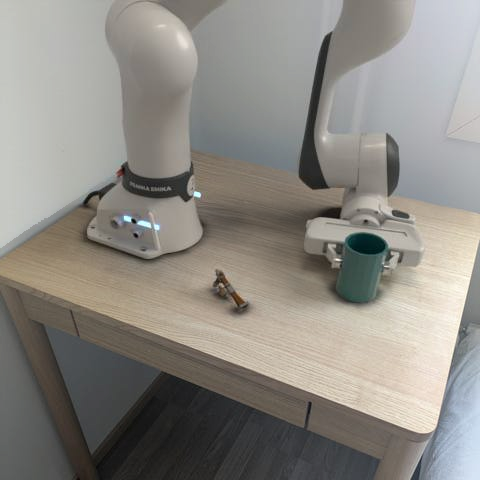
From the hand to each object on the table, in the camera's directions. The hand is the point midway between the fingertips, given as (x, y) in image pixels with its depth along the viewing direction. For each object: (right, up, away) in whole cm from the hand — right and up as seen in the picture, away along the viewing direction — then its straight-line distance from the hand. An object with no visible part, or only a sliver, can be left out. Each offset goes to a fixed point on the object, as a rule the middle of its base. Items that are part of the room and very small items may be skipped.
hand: (361, 268), depth 81 cm
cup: (0, -3, +4) cm, 5 cm away
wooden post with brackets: (-22, -5, +2) cm, 23 cm away
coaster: (+2, +12, +21) cm, 24 cm away
